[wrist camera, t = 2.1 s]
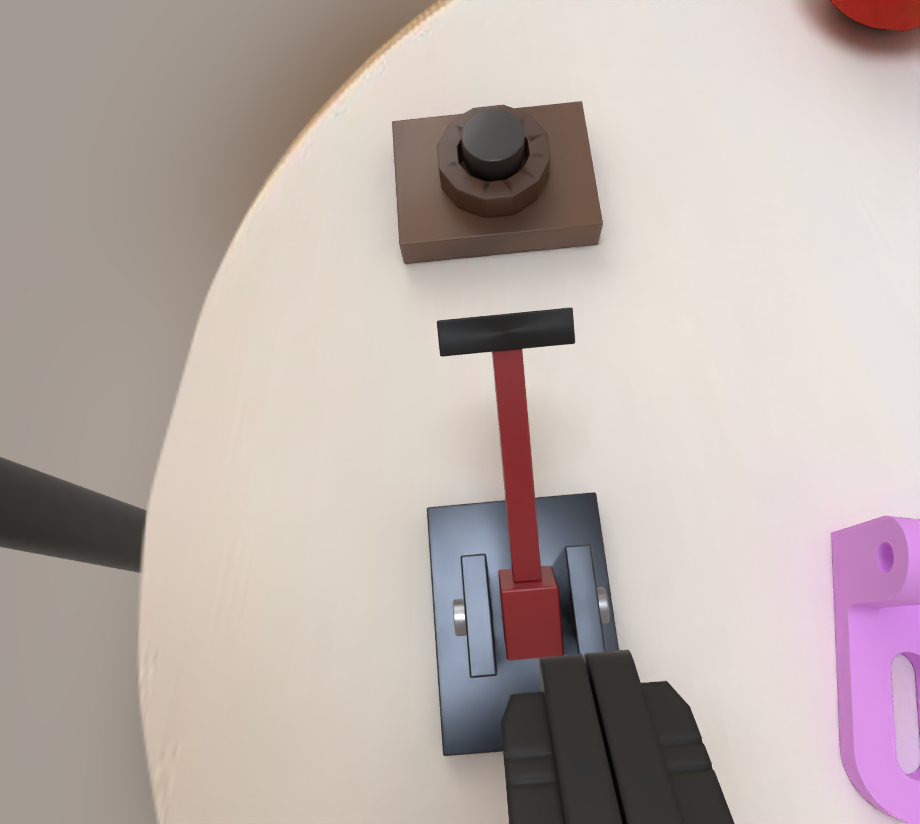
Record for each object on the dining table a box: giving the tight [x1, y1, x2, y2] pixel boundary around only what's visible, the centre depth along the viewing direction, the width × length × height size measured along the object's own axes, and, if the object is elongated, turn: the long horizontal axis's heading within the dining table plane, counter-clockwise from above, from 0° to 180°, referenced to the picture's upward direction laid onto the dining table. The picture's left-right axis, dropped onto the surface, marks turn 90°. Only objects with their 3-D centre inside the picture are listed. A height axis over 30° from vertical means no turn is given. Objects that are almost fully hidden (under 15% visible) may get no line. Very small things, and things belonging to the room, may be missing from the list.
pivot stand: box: [427, 493, 619, 756], centre depth 31 cm, size 12×9×11 cm
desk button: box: [461, 109, 525, 180], centre depth 40 cm, size 4×4×2 cm
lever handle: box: [437, 308, 575, 660], centre depth 27 cm, size 13×5×2 cm, turn 4°
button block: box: [392, 101, 603, 263], centre depth 42 cm, size 12×9×4 cm
